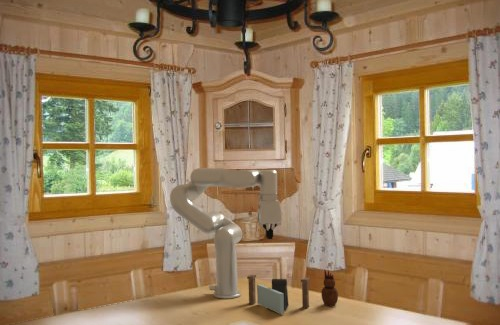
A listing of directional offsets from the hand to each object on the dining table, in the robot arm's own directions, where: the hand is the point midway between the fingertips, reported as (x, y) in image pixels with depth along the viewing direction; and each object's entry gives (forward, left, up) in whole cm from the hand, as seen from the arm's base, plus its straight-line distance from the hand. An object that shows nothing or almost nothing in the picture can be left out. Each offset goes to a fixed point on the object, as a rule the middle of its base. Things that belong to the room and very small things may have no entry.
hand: (269, 238), depth 232 cm
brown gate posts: (+6, -10, -26) cm, 29 cm away
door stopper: (+8, -14, -27) cm, 31 cm away
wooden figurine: (+27, -4, -27) cm, 38 cm away
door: (+5, -17, -26) cm, 31 cm away
